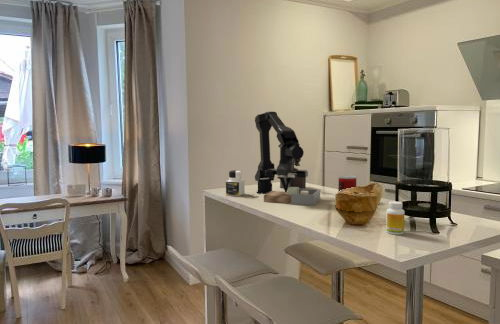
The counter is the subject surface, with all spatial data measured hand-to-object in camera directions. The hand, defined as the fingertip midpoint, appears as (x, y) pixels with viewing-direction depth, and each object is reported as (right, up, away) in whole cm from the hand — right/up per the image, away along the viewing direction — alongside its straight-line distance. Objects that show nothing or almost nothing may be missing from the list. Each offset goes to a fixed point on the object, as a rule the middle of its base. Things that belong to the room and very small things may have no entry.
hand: (286, 191), depth 177 cm
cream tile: (+6, -2, -2) cm, 7 cm away
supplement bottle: (+30, -9, -53) cm, 62 cm away
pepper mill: (+8, -1, +34) cm, 35 cm away
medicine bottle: (-24, -3, +17) cm, 29 cm away
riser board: (-2, -4, +1) cm, 5 cm away
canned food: (+28, -4, 0) cm, 28 cm away
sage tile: (+3, -1, -1) cm, 3 cm away
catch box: (+9, -4, -3) cm, 10 cm away
